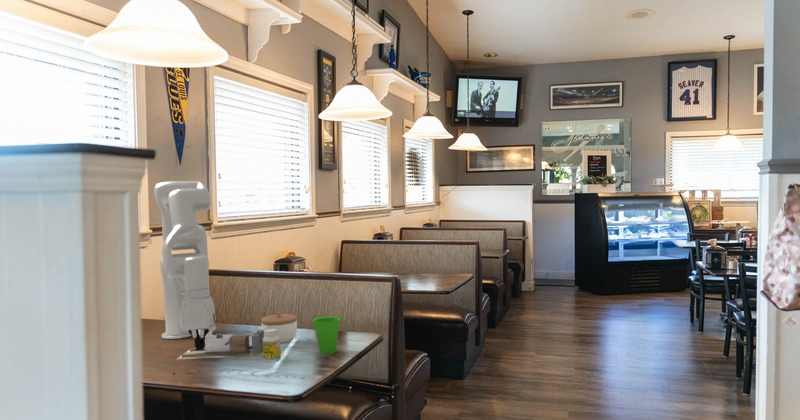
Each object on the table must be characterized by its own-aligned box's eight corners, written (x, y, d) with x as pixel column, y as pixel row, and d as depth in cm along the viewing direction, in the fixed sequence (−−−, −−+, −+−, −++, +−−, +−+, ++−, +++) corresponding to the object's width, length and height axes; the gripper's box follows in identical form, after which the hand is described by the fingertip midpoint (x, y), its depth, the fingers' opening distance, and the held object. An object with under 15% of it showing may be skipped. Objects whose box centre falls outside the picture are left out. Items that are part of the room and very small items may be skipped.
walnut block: (234, 350, 186) (234, 335, 186) (249, 349, 186) (248, 334, 186) (230, 354, 181) (229, 338, 181) (245, 353, 181) (244, 338, 181)
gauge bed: (190, 352, 190) (189, 331, 190) (266, 349, 190) (265, 328, 190) (176, 363, 178) (174, 340, 178) (257, 359, 178) (256, 337, 178)
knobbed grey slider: (210, 350, 186) (209, 332, 186) (234, 349, 186) (233, 331, 186) (202, 356, 179) (202, 338, 179) (227, 355, 179) (226, 337, 179)
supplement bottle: (283, 358, 179) (282, 328, 178) (275, 363, 174) (273, 332, 173) (269, 357, 180) (267, 327, 180) (260, 362, 175) (258, 331, 175)
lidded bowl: (255, 343, 199) (254, 312, 198) (287, 336, 207) (285, 307, 207) (272, 350, 189) (271, 317, 189) (304, 342, 197) (303, 311, 197)
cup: (324, 347, 189) (322, 315, 189) (347, 350, 185) (345, 317, 185) (308, 355, 181) (307, 321, 181) (332, 357, 177) (330, 323, 177)
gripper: (170, 296, 180) (173, 353, 180) (216, 295, 180) (219, 351, 180) (179, 292, 187) (182, 347, 188) (223, 291, 187) (226, 345, 188)
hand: (200, 349), depth 184 cm, fingers closed
